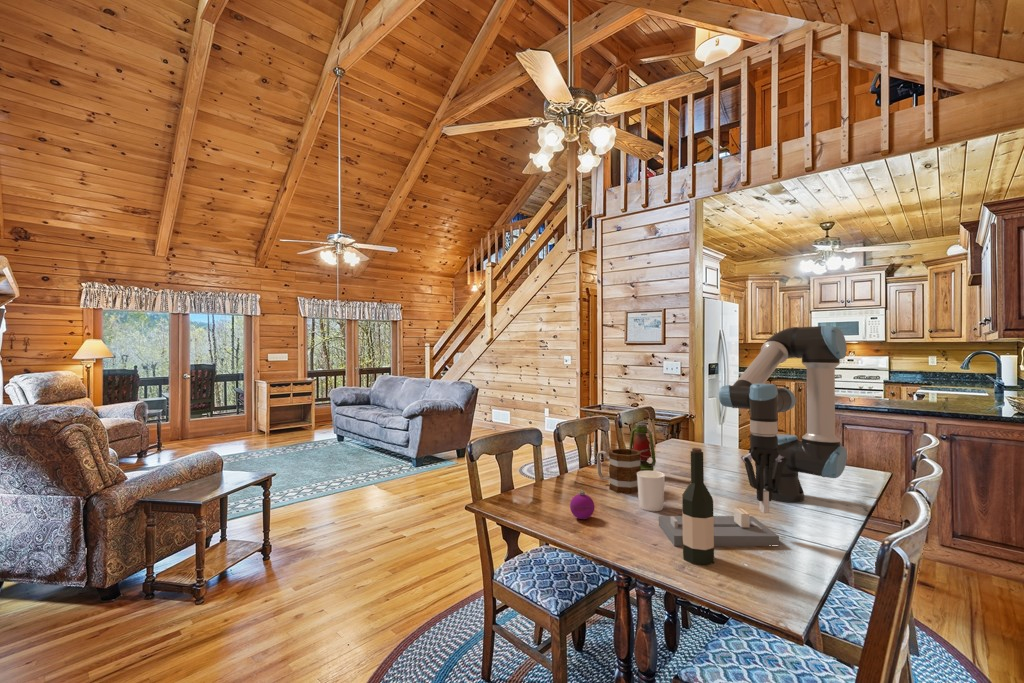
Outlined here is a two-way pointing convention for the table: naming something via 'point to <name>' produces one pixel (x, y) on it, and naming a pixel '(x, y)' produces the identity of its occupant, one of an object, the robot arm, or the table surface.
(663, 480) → the candle holder
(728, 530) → the panel
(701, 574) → the table surface
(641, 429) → the lantern
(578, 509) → the christmas ornament
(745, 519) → the fader
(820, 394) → the robot arm
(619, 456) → the mug
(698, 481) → the wine bottle
